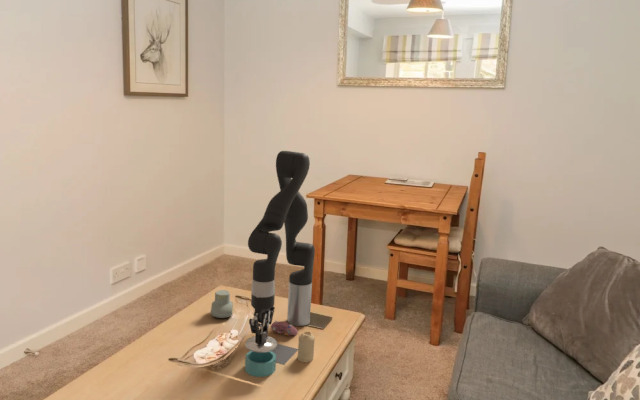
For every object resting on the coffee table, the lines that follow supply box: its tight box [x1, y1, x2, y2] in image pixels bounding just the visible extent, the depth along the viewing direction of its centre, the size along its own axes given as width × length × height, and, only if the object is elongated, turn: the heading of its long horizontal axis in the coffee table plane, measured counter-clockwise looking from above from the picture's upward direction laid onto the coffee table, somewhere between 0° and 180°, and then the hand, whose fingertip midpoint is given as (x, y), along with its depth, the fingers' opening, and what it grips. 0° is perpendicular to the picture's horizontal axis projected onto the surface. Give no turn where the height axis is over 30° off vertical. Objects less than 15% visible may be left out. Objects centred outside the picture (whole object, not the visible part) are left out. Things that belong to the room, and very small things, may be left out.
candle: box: [297, 331, 315, 363], centre depth 181 cm, size 6×6×10 cm
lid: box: [244, 330, 278, 353], centre depth 172 cm, size 10×10×5 cm
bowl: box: [244, 350, 277, 378], centre depth 174 cm, size 10×10×5 cm
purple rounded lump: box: [270, 320, 299, 337], centre depth 199 cm, size 10×5×7 cm, turn 69°
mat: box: [272, 343, 298, 366], centre depth 185 cm, size 12×12×1 cm
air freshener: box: [210, 289, 234, 319], centre depth 212 cm, size 11×8×10 cm
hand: (261, 340), depth 172 cm, fingers closed on lid, 3 cm apart
